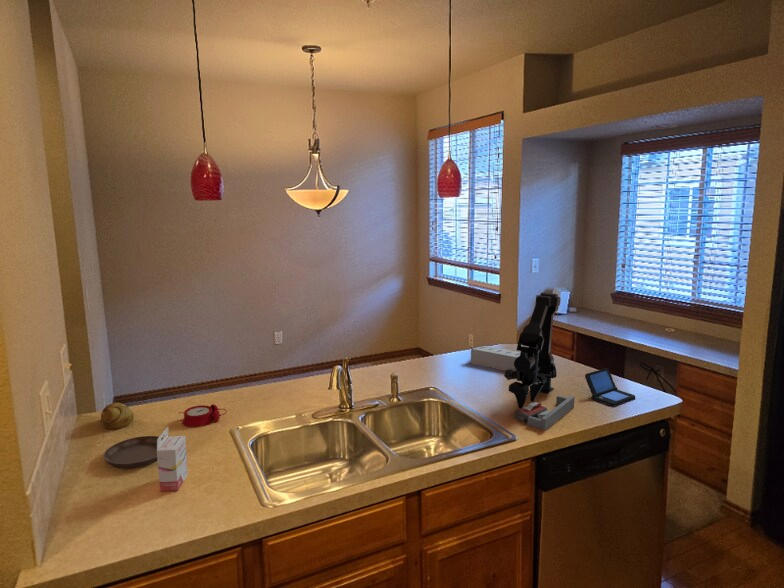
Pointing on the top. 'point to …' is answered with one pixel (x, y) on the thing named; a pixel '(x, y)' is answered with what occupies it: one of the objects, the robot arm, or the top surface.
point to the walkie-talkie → (530, 412)
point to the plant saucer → (133, 452)
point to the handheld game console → (606, 388)
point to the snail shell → (116, 416)
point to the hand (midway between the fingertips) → (526, 405)
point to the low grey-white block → (494, 357)
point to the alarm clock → (201, 415)
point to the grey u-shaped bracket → (553, 413)
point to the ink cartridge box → (171, 461)
